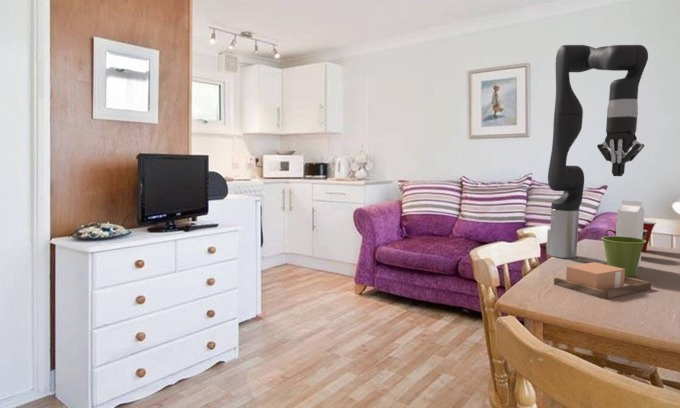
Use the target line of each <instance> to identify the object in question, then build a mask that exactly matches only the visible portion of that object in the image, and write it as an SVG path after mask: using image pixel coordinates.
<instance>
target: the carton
mask: <svg viewBox="0 0 680 408" xmlns="http://www.w3.org/2000/svg"><path fill="white" fill-rule="evenodd" d="M565 275H566V276H565V277H566V278H565V280H568V281H571V282H575V283H579V284H582V285H586V286H589V287H593V288H597V289H600V290H608V289H613V288H618V287H623V286H625V283H624V277H625V269H623V268H618V267H614V266H609V265H607V264H603V263H600V262H595V261H594V262H588V263H582V264H574V265H569V266H566V274H565Z"/></svg>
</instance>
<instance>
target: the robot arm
mask: <svg viewBox="0 0 680 408" xmlns="http://www.w3.org/2000/svg"><path fill="white" fill-rule="evenodd" d="M555 56H556V57H555V98H554V99H555V101H554V102H555V103H554V113H553V125H552V127H553V129H552V130H553V132H552V143H551V145H552V146H551V153H550V159H549V165H548V171H547V172H548V173H547V183H548V187H549V188H550V189H551V190H552V191H554V192H563V193H562V195H561V196H560V197H559V198H557V199H555V200H553V201H552V202H551V205H550V206H551V207H550V208H551V209H550V224H549V225H550V226H549V227H550V228H547V236H546V237H547V238H546V239H547V240H546V255H549V256H551V257H555V258H562V259H575V258H577V252H578V241H579V240H578V239H579V238H578V236H579V219H580V207H581V204H582V202H583V196H584V187H585V173H584V170H583V168H582V167H580V166H579V165H567V159H568V154H569V151H570V149H571V147H572V146H573V144H574V143H575V141H576V139H577V138H578V136H579V135H580V133H581V131H582V127H583V117H584V109H583V106H582V104H581V102H580V100H579V99H578V97H577V94H576V93H575V92H574V90H573V88H572V85H571V80H570V73H583V72H587V71H590V70H593V69H594V70H600V71H610V72H611V71H613V72H615V71H617V72H621V71H624V72H625V71H627V73H626V75H625V76H624V77H623V78H618V79H615V80H612V81H611V83H610V84H609V94H608V95H609V96H608V105H607V110H606V114H607V115H606V126H605V133H606V136H605V139H604V141H603V142H602V143H600V144H597V149H598V150H599V152H600V154H601V155H602V156H603V158H604V159H605V161H607V162H610V163H611V165H612V166H611V174H612V176H613V177H622V176H624V174H625V168H626V163H628V162H632V161H634V159H635V158H636V157H637V155H638V154H639V153H640V152H641V151H642V150H643V149H644V147H645V144H644V143H640V142H639V141H638V140H637V136H636V132H637V125H638V114H639V113H638V111H639V104H638V96H639V85H640V82H641V79H642V76H643V73H644V71H645V68H646V65H647V63H648V59H649V53H648V50H647V48H646V46H645V45H642V44H613V45H609V46H608V45H605V46H600V47H599V46H598V47H593V46H590V45H585V44H564V45H560V47H559V48H558V49H557V52H556V55H555Z"/></svg>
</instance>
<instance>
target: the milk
mask: <svg viewBox="0 0 680 408" xmlns="http://www.w3.org/2000/svg"><path fill="white" fill-rule="evenodd" d="M642 203H643V202H642V201H637V200H636V201H635V200H626V199H625V200H621V205H620V206H619V208H618V209H617V213H616V227H615V228H616V230H615V231H616V236H619V237H632V238H638V239H642V237H643V224H644V221H645V209H644V208H643V207H642V205H643V204H642ZM641 261H642V253H641V254H640V258H639V262H638V266H637V268H639V267H641V263H642V262H641Z"/></svg>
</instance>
